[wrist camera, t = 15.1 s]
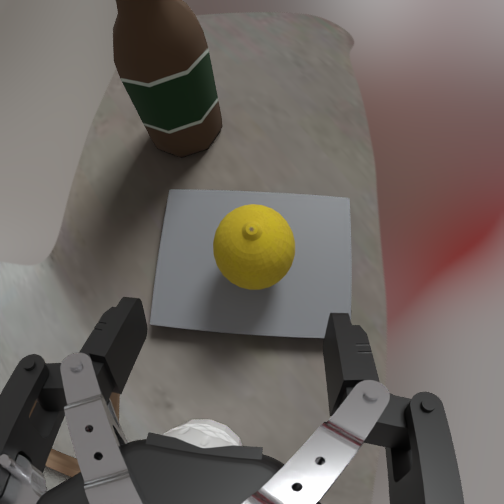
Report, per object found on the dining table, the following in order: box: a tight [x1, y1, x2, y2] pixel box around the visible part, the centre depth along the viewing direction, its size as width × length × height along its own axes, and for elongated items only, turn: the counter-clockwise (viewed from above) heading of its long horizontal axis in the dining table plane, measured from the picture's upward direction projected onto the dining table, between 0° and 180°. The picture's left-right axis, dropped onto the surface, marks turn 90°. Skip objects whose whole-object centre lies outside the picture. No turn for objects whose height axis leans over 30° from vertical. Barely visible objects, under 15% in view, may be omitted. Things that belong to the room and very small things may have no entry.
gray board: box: [150, 189, 351, 338], centre depth 26 cm, size 16×12×2 cm
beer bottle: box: [113, 0, 222, 157], centre depth 20 cm, size 8×8×24 cm
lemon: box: [213, 204, 295, 290], centre depth 22 cm, size 6×6×8 cm
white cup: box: [163, 419, 243, 448], centre depth 18 cm, size 8×8×10 cm
